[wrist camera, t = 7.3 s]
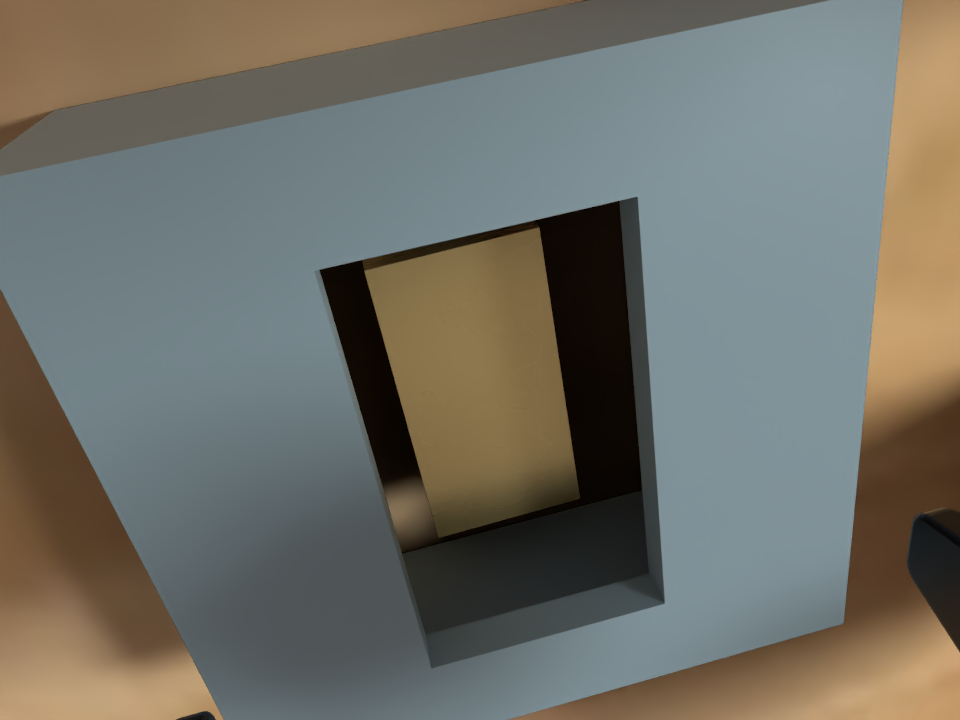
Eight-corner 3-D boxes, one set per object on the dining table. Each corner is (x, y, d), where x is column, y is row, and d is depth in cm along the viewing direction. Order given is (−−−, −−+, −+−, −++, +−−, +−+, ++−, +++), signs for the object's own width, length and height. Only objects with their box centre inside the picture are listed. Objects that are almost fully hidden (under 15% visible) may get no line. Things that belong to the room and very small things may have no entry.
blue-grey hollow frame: (738, -31, 14) (905, -16, 10) (739, 489, 20) (843, 623, 16) (53, 110, 13) (-53, 187, 9) (269, 614, 19) (260, 790, 15)
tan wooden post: (505, 185, 15) (539, 227, 13) (547, 431, 18) (579, 498, 16) (355, 221, 15) (364, 270, 13) (422, 465, 18) (438, 537, 16)
